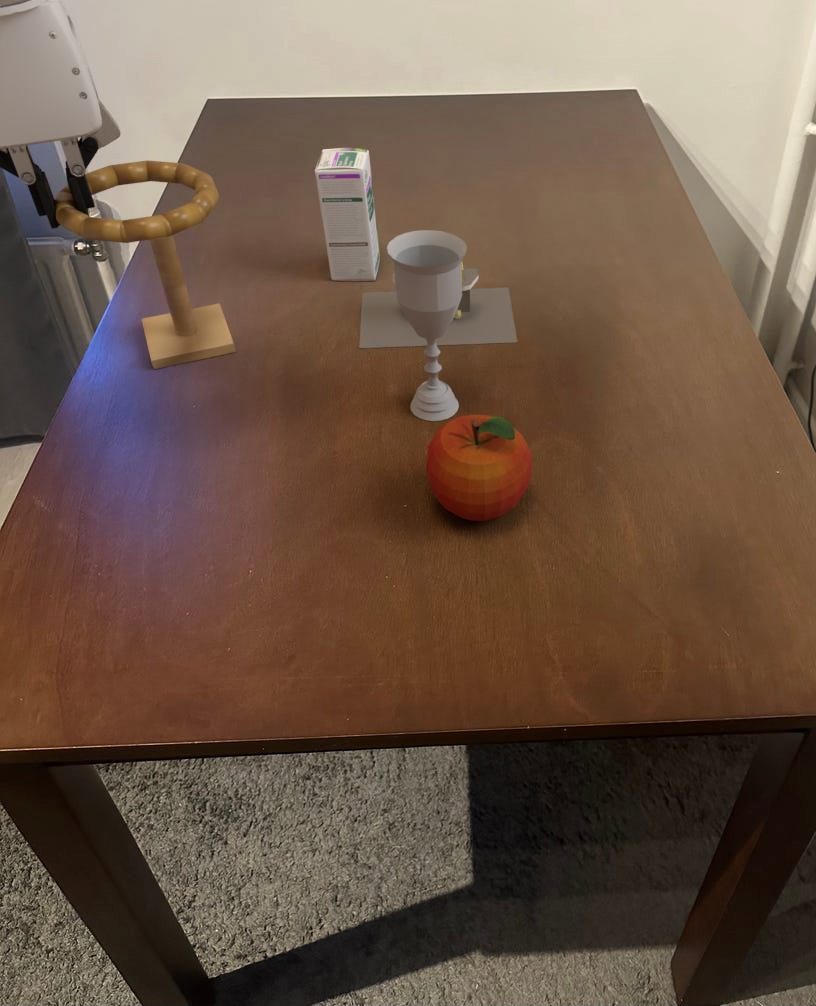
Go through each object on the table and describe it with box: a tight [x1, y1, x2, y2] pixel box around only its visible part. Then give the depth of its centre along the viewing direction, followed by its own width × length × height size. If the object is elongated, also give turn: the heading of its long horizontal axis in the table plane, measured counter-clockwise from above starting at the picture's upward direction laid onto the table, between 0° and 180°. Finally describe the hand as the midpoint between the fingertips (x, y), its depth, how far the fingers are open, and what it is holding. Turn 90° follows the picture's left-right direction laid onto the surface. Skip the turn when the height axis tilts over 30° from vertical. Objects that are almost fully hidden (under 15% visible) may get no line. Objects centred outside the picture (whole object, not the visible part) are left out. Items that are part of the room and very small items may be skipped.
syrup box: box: [314, 147, 381, 282], centre depth 108 cm, size 6×6×14 cm
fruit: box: [425, 414, 533, 522], centre depth 79 cm, size 10×10×10 cm
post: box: [141, 235, 236, 370], centre depth 97 cm, size 9×9×13 cm
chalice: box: [386, 229, 468, 422], centre depth 87 cm, size 7×7×18 cm
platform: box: [358, 261, 518, 349], centre depth 103 cm, size 12×18×7 cm, turn 94°
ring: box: [54, 160, 220, 244], centre depth 78 cm, size 14×14×2 cm
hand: (69, 217), depth 77 cm, fingers closed on ring, 1 cm apart
